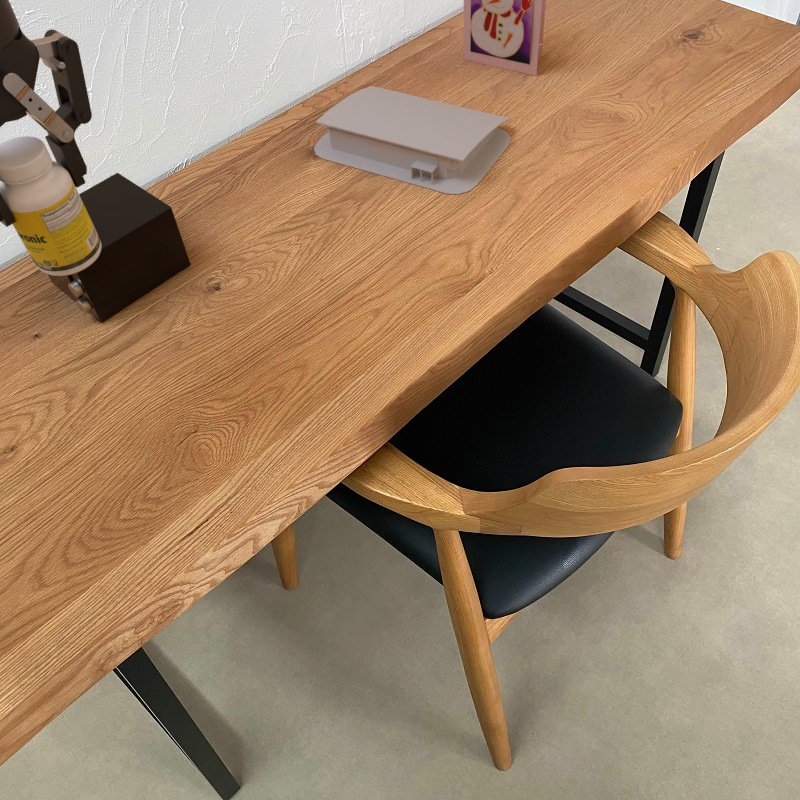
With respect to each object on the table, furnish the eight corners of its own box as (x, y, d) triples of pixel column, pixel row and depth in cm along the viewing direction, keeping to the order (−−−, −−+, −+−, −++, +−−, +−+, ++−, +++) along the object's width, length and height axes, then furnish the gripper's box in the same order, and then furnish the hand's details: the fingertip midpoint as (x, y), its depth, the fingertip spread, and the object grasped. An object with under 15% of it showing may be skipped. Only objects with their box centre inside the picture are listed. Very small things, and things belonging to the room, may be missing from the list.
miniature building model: (466, 199, 94) (466, 170, 91) (305, 153, 102) (300, 126, 99) (518, 132, 102) (520, 104, 99) (365, 95, 110) (363, 68, 107)
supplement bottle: (23, 259, 65) (-36, 154, 57) (80, 226, 67) (31, 121, 59) (58, 288, 62) (0, 183, 55) (116, 252, 64) (69, 146, 57)
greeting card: (460, 62, 115) (460, -49, 103) (483, 39, 119) (486, -71, 107) (533, 78, 111) (542, -36, 99) (555, 54, 115) (565, -58, 103)
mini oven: (95, 327, 84) (66, 270, 78) (45, 287, 89) (14, 229, 83) (191, 265, 90) (171, 206, 83) (140, 229, 94) (117, 172, 88)
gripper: (1, -87, 52) (95, 141, 65) (-223, -5, 46) (-70, 228, 59) (61, -61, 48) (147, 175, 62) (-173, 32, 42) (-22, 271, 56)
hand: (40, 200), depth 60 cm, fingers closed on supplement bottle, 5 cm apart
